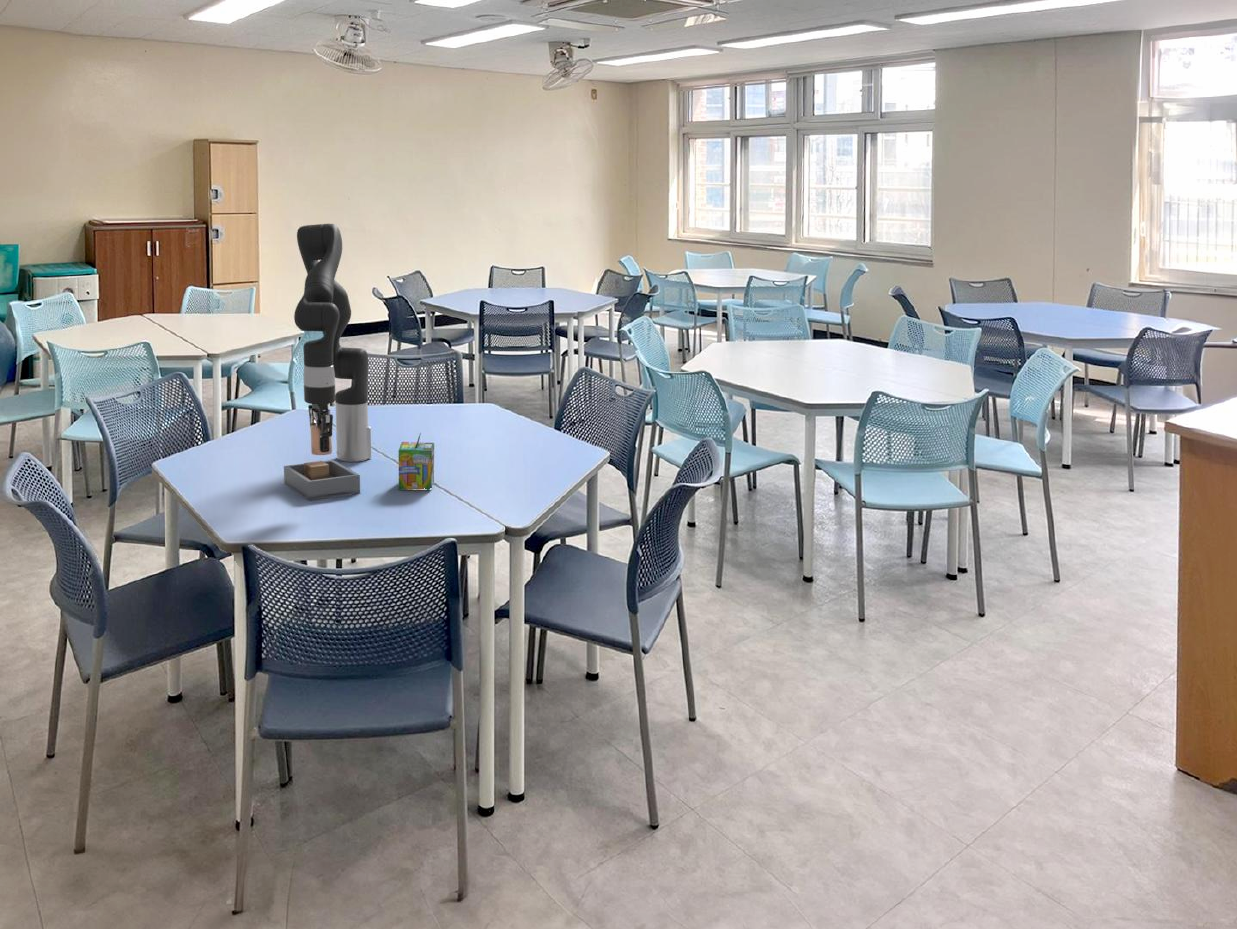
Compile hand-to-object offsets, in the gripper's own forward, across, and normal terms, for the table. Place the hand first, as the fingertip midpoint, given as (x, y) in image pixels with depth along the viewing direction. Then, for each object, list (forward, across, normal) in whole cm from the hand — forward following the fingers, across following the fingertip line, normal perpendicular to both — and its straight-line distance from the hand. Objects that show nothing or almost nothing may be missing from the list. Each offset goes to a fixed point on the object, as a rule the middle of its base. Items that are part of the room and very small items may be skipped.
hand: (321, 448), depth 269 cm
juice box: (+15, +8, -28) cm, 33 cm away
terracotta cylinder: (+1, 0, 0) cm, 1 cm away
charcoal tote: (+15, +15, -4) cm, 21 cm away
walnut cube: (+14, +18, -3) cm, 23 cm away
